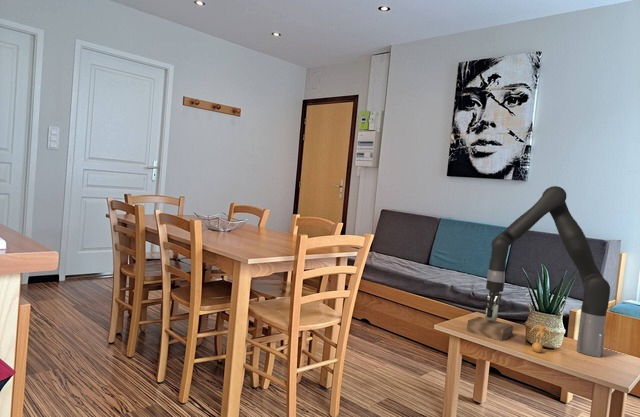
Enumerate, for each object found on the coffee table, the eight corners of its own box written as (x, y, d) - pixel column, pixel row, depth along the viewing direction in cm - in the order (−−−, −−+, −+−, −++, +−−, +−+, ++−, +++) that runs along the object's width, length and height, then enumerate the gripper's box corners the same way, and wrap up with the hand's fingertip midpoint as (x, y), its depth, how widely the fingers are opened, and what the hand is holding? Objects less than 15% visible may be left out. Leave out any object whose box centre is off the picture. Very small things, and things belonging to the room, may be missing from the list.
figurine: (524, 349, 188) (528, 321, 188) (530, 347, 192) (534, 319, 192) (545, 356, 182) (548, 326, 182) (551, 353, 186) (554, 325, 186)
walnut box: (512, 335, 208) (513, 325, 208) (501, 340, 198) (503, 329, 197) (478, 326, 219) (479, 316, 218) (466, 331, 208) (467, 320, 208)
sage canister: (498, 319, 208) (500, 304, 208) (494, 321, 204) (496, 305, 204) (487, 316, 211) (489, 302, 211) (483, 318, 208) (485, 303, 208)
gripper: (498, 282, 200) (494, 320, 200) (509, 280, 211) (504, 316, 211) (481, 279, 205) (477, 316, 205) (492, 277, 215) (488, 312, 216)
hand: (491, 316), depth 208 cm, fingers closed on sage canister, 5 cm apart
